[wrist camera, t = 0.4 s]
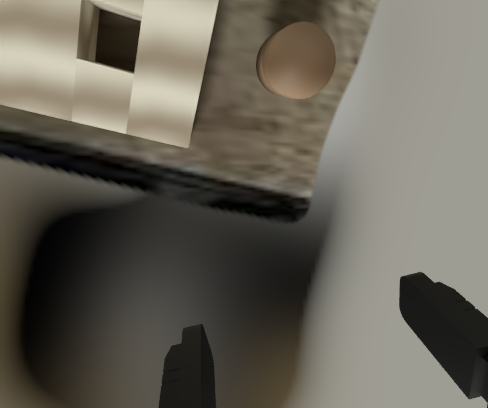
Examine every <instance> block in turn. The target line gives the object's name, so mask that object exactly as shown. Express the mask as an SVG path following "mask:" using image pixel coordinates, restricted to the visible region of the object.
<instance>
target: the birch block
mask: <svg viewBox="0 0 488 408" xmlns="http://www.w3.org/2000/svg"><path fill="white" fill-rule="evenodd" d="M218 1H219V0H0V104H1V105H5V106H9V107H13V108H18V109H22V110H26V111H31V112H35V113H39V114H43V115H48V116H52V117H56V118H60V119H65V120H69V121H73V122H78V123H82V124H86V125H90V126H95V127H99V128H103V129H107V130H112V131H116V132H120V133H125V134H129V135H133V136H137V137H142V138H146V139H150V140H154V141H159V142H163V143H167V144H172V145H176V146H180V147H184V148H188V146H189V142H190V137H191V132H192V127H193V122H194V117H195V113H196V108H197V103H198V98H199V93H200V88H201V84H202V79H203V74H204V69H205V64H206V59H207V55H208V50H209V45H210V40H211V35H212V30H213V26H214V21H215V16H216V11H217V6H218ZM100 9H102V10H105V11H109V12H112V13H115V14H118V15H121V16H125V17H128V18H131V19H134V20H137V21H141V27H140V35H139V42H138V49H137V56H136V64H135V71H134V72H131V71H128V70H124V69H120V68H117V67H113V66H109V65H106V64H102V63H99V62H95V56H96V46H97V36H98V26H99V15H100Z"/></svg>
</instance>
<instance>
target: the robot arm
mask: <svg viewBox="0 0 488 408" xmlns="http://www.w3.org/2000/svg"><path fill="white" fill-rule="evenodd" d="M399 307H400V311H401V314H402V316H403V318H404V320H405V321H406V323H407V324H408V325H409V326H410V328H411V329H412V330H413V331H414V333H415V334H416V335H417V336H418V338H419V339H420V340H421V341H422V342H423V344H424V345H425V346H426V347H427V348H428V350H429V351H430V352H431V354H432V355H433V356H434V357H435V358H436V360H437V361H438V362H439V363H440V364H441V366H442V367H443V368H444V369H445V371H446V372H447V373H448V374H449V375H450V377H451V378H452V379H453V380H454V382H455V383H456V384H457V385H458V387H459V388H460V389H461V390H462V391H463V393H464V394H465V395H466V396H467V397H468V399H472V398H476V397H480V396H482V397H483V398H484V399H485V400H486V402H488V318H487V317H486V316H485V315H484V314H482V313H481V312H480V311H479V310H478V309H475V307H474V306H473V305H472V304H471V303H470V302H468V301H466V299H465V298H464V297H463V296H462V295H460V294H459V293H458V292H456V290H455V289H453V288H451V287H449V286H447V285H445V284H443V283H441V282H436V283H434V282H433V281H432V280H431V279H429V278H428V277H427V276H426V275H425V274H424V273H422V272H418V273H414V274H410V275H406V276H402V277H401V278H400V297H399ZM215 394H216V393H215V371H214V360H213V355H212V351H211V348H210V345H209V342H208V339H207V335H206V332H205V329H204V326H203V324H199V325H195V326H191V327H186V328H183V332H182V343H181V344H178V345H173V346H171V348H170V350H169V352H168V354H167V356H166V357H165V362H164V369H163V377H162V386H161V394H160V401H159V408H216V395H215ZM487 408H488V404H487Z"/></svg>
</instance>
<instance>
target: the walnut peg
mask: <svg viewBox="0 0 488 408" xmlns="http://www.w3.org/2000/svg"><path fill="white" fill-rule="evenodd" d="M335 59H336V56H335V48H334V45H333V42H332V40H331V38H330V36H329V35H328V33H327V32H326V31H325V30H324V29H323V28H321V27H320V26H318V25H316V24H314V23H311V22H296V23H293V24H290V25H289V26H287V27H285V28H283V29H282V30H280V31H278V32H277V33H275V34H273V35H272V36H270V37H269V38H268V39H267V40H266V41H265V42H264V43H263V44H262V46H261V48H260V50H259V52H258V55H257V60H256V70H257V74H258V78H259V80H260V82H261V83H262V85H263V86H264V87H265V88H266V89H267V90H268V91H270V92H271V93H273V94H276V95H280V96H285V97H290V98H295V99H304V98H308V97H311V96H313V95H315V94H317V93H318V92H320V91H321V90H322V89H323V88H324V87H325V86H326V85H327V83H328V82H329V80H330V78H331V76H332V74H333V71H334V67H335Z"/></svg>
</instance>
